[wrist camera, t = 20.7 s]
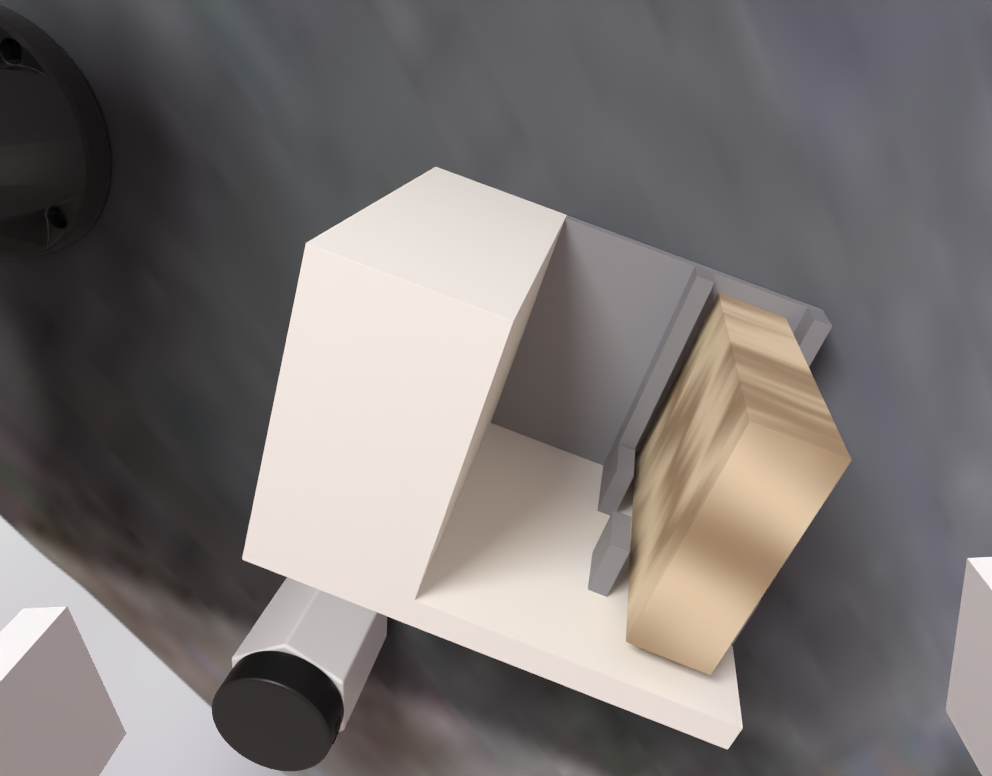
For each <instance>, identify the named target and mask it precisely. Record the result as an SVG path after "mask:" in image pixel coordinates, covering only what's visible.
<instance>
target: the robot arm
mask: <svg viewBox="0 0 992 776" xmlns="http://www.w3.org/2000/svg"><path fill="white" fill-rule="evenodd" d="M110 174H111V159H110V148H109V142H108V137H107V132H106V128H105V125H104V121H103V118H102V115H101V112H100V110H99V107H98V105H97V102H96V100H95V98H94V96H93V94H92V92H91V90H90V88H89V86H88V84H87V82H86V81H85V79H84V78H83V76H82V74H81V73H80V71H79V70H78V68H77V67H76V65H75V64H74V63H73V62H72V60H71V59H70V58H69V56H68V55H67V54H66V53H65V52H64V51H63V49H62V48H61V47H60V46H59V45H58V44H57V43H56V42H55V41H54V40H53V39H52V38H51V37H50V36H48V35H47V34H46V33H45V32H44V31H43V30H41V29H40V28H39V27H38V26H36V25H35V24H33V23H32V22H31V21H29V20H28V19H26V18H24V17H23V16H21V15H19V14H17V13H16V12H14V11H12V10H9V9H7V8H5V7H2V6H0V260H22V259H30V258H34V257H38V256H41V255H44V254H47V253H50V252H53V251H56V250H59V249H61V248H64V247H66V246H69V245H70V244H72V243H74V242H76V241H77V240H79V239H80V238H81V237H82V236H84V235H85V234H86V233H87V232H88V231H89V230H90V229H91V227H92V226H93V225H94V223H95V222H96V220H97V219H98V217H99V215H100V213H101V211H102V209H103V207H104V204H105V201H106V198H107V194H108V190H109V184H110ZM946 712H947V714H948V716H949V717H950V719H951V721H952V723H953V724H954V726H955V728H956V730H957V732H958V733H959V735H960V737H961V739H962V741H963V742H964V744H965V746H966V748H967V749H968V751H969V753H970V755H971V757H972V758H973V760H974V762H975V764H976V765H977V767H978V769H979V771H980V773H981V774H982V776H992V557H981V558H967V563H966V571H965V578H964V585H963V592H962V599H961V606H960V613H959V620H958V627H957V634H956V641H955V648H954V655H953V662H952V669H951V676H950V683H949V690H948V697H947V704H946ZM125 734H126V732H125V730H124V728H123V726H122V724H121V721H120V719H119V717H118V715H117V713H116V711H115V708H114V707H113V704H112V702H111V700H110V698H109V695H108V693H107V691H106V689H105V687H104V685H103V682H102V680H101V678H100V676H99V674H98V672H97V669H96V667H95V665H94V663H93V661H92V659H91V657H90V654H89V652H88V650H87V648H86V646H85V644H84V642H83V639H82V637H81V635H80V633H79V631H78V628H77V626H76V624H75V622H74V620H73V618H72V616H71V614H70V611H69V609H68V607H67V606H64V607H44V608H24V609H22V610H21V611H20V612H19V613H18V614H17V615H16V616H15V617H14V619H12V621H11V622H10V623H9V624H8V625H7V626H6V627H5V628H4V629H3V630H2V631H1V632H0V776H99V775H100V773H101V772H102V770H103V769H104V767H105V765H106V764H107V762H108V761H109V759H110V758H111V756H112V754H113V753H114V751H115V750H116V748H117V747H118V745H119V743H120V742H121V740H122V739H123V737H124V736H125Z"/></svg>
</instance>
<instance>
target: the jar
mask: <svg viewBox="0 0 992 776" xmlns="http://www.w3.org/2000/svg"><path fill="white" fill-rule="evenodd" d="M386 636H387V616H385V615H383V614H380V613H378V612H375V611H372V610H370V609H367V608H365V607H362V606H360V605H357V604H355V603H352V602H349V601H347V600H344V599H342V598H339V597H337V596H334V595H332V594H329V593H326V592H324V591H321V590H319V589H316V588H314V587H311V586H309V585H306V584H303V583H301V582H298V581H296V580H293V579H291V578H288V577H287V578H286V579H285V581H284V582H283V584H282V585H281V587H280V588H279V590H278V591H277V592H276V594H275V595H274V597H273V598H272V600H271V601H270V603H269V604H268V606H267V607H266V609H265V610H264V611H263V613H262V614H261V616H260V617H259V619H258V620H257V622H256V623H255V625H254V626H253V628H252V629H251V630H250V632H249V633H248V635H247V636H246V638H245V639H244V641H243V642H242V644H241V645H240V647H239V648H238V649H237V651H236V652H235V654H234V655H233V657H232V668H233V669H232V670H231V672H230V673H229V675H228V676H227V678H226V679H225V681H224V682H223V684H222V685H221V687H220V688H219V690H218V691H217V693H216V694H215V696H214V699H213V703H212V715H213V720H214V722H215V725H216V727H217V729H218V731H219V733H220V734H221V736H222V737H223V738H224V740H225V741H226V742H227V743H228V744H229V745H230V746H231V747H232V748H233V749H234V750H236V751H237V752H238V753H239V754H241V755H242V756H244V757H245V758H247V759H249V760H251V761H253V762H255V763H257V764H259V765H261V766H264V767H268V768H271V769H275V770H280V771H300V770H305V769H308V768H311V767H313V766H315V765H317V764H318V763H320V762H321V761H322V760H323V759H324V758H325V756H326V755H327V753H328V752H329V749H330V748H331V746H332V744H334V741H335V739H336V737H337V735H338V732H341V731H343V730H344V729H345V727H346V725H347V722H348V720H349V718H350V716H351V714H352V711H353V709H354V707H355V705H356V702H357V700H358V698H359V696H360V694H361V691H362V689H363V687H364V685H365V683H366V680H367V678H368V676H369V674H370V671H371V669H372V667H373V665H374V663H375V660H376V658H377V656H378V654H379V651H380V649H381V647H382V645H383V643H384V640H385V638H386Z"/></svg>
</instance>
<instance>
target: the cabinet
mask: <svg viewBox="0 0 992 776" xmlns="http://www.w3.org/2000/svg"><path fill="white" fill-rule="evenodd" d="M718 292H719V293H722V294H724V295H727V296H730V297H732V298H735V299H738V300H740V301H743V302H746V303H748V304H751V305H754V306H756V307H759V308H762V309H764V310H767V311H769V312H772V313H775V314H777V315H780V316H783V317H785V318H786V319H787V321H788V324H789V326H790V328H791V330H792V332H793V334H794V337H795V339H796V341H797V343H798V345H799V347H800V350H801V352H802V354H803V356H804V358H805V360H806V363H807V365H808V367H809V366H810V364H811V363H812V361H813V359H814V357H815V356H816V354H817V352H818V350H819V349H820V347H821V345H822V343H823V342H824V340H825V338H826V337H827V335H828V333H829V331H830V330H831V328H832V325H831V323H830V322H829V320H828V318H827V317H826V315H825V313H824V312H823V310H822V309H820V308H817V307H814V306H812V305H809V304H806V303H804V302H801V301H798V300H796V299H793V298H790V297H787V296H785V295H782V294H779V293H777V292H774V291H771V290H768V289H766V288H763V287H760V286H758V285H755V284H752V283H749V282H747V281H744V280H741V279H739V278H736V277H733V276H730V275H728V274H725V273H722V272H720V271H717V270H714V269H712V268H709V267H706V266H703V265H701V264H698V263H695V262H693V261H690V260H687V259H684V258H682V257H679V256H676V255H674V254H671V253H668V252H665V251H663V250H660V249H657V248H655V247H652V246H649V245H646V244H644V243H641V242H638V241H636V240H633V239H630V238H628V237H625V236H622V235H619V234H617V233H614V232H611V231H609V230H606V229H603V228H600V227H598V226H595V225H592V224H590V223H587V222H584V221H581V220H579V219H576V218H573V217H571V216H568V215H565V214H562V213H560V212H557V211H554V210H552V209H549V208H546V207H544V206H541V205H538V204H535V203H533V202H530V201H527V200H525V199H522V198H519V197H516V196H514V195H511V194H508V193H506V192H503V191H500V190H497V189H495V188H492V187H489V186H487V185H484V184H481V183H478V182H476V181H473V180H470V179H468V178H465V177H462V176H460V175H457V174H454V173H451V172H449V171H446V170H443V169H441V168H438V167H434V168H433V169H431V170H429V171H428V172H426V173H424V174H423V175H421V176H419V177H417V178H416V179H414V180H412V181H411V182H409V183H407V184H405V185H404V186H402V187H400V188H399V189H397V190H395V191H394V192H392V193H390V194H388V195H387V196H385V197H383V198H382V199H380V200H378V201H377V202H375V203H373V204H371V205H370V206H368V207H366V208H365V209H363V210H361V211H359V212H358V213H356V214H354V215H353V216H351V217H349V218H348V219H346V220H344V221H342V222H341V223H339V224H337V225H336V226H334V227H332V228H331V229H329V230H327V231H325V232H324V233H322V234H320V235H319V236H317V237H315V238H313V239H312V240H310V241H308V242H307V243H306V245H305V250H304V255H303V260H302V265H301V270H300V275H299V280H298V285H297V290H296V295H295V300H294V305H293V310H292V315H291V320H290V324H289V329H288V334H287V339H286V344H285V349H284V354H283V359H282V364H281V369H280V374H279V379H278V384H277V389H276V394H275V399H274V404H273V409H272V413H271V418H270V423H269V428H268V433H267V438H266V443H265V448H264V453H263V458H262V463H261V468H260V473H259V478H258V483H257V488H256V493H255V498H254V502H253V507H252V512H251V517H250V522H249V527H248V532H247V537H246V542H245V547H244V552H243V557H242V560H245V561H247V562H250V563H252V564H255V565H258V566H260V567H263V568H265V569H268V570H270V571H273V572H275V573H278V574H280V575H283V576H286V577H288V578H291V579H293V580H296V581H298V582H301V583H303V584H306V585H309V586H311V587H314V588H316V589H319V590H321V591H324V592H326V593H329V594H332V595H334V596H337V597H339V598H342V599H344V600H347V601H349V602H352V603H355V604H357V605H360V606H362V607H365V608H367V609H370V610H372V611H375V612H378V613H380V614H383V615H385V616H388V617H390V618H393V619H395V620H398V621H400V622H403V623H406V624H408V625H411V626H413V627H416V628H418V629H421V630H423V631H426V632H429V633H431V634H434V635H436V636H439V637H441V638H444V639H446V640H449V641H452V642H454V643H457V644H459V645H462V646H464V647H467V648H469V649H472V650H475V651H477V652H480V653H482V654H485V655H487V656H490V657H492V658H495V659H497V660H500V661H503V662H505V663H508V664H510V665H513V666H515V667H518V668H520V669H523V670H526V671H528V672H531V673H533V674H536V675H538V676H541V677H543V678H546V679H549V680H551V681H554V682H556V683H559V684H561V685H564V686H566V687H569V688H572V689H574V690H577V691H579V692H582V693H584V694H587V695H589V696H592V697H594V698H597V699H600V700H602V701H605V702H607V703H610V704H612V705H615V706H617V707H620V708H623V709H625V710H628V711H630V712H633V713H635V714H638V715H640V716H643V717H646V718H648V719H651V720H653V721H656V722H658V723H661V724H663V725H666V726H669V727H671V728H674V729H676V730H679V731H681V732H684V733H686V734H689V735H691V736H694V737H697V738H699V739H702V740H704V741H707V742H709V743H712V744H714V745H717V746H720V747H722V748H725V749H727V750H728V748H729V747H730V746H731V744H732V743H733V741H734V740H735V738H736V737H737V736H738V734H739V733H740V731H741V730H742V729H743V726H742V718H741V710H740V702H739V694H738V686H737V678H736V670H735V662H734V654H733V644H734V642H735V641H736V639H737V638H738V636H739V635H740V633H741V632H742V630H743V629H744V627H745V625H746V624H747V622H748V621H749V619H750V618H751V616H752V615H753V613H754V612H755V610H756V608H757V607H758V605H759V604H760V601H759V602H758V604H757V605H756V607H755V608H754V610H753V611H752V613H751V614H750V616H749V617H748V619H747V620H746V622H745V624H744V625H743V627H742V628H741V630H740V631H739V633H738V634H737V636H736V637H735V639H734V640H733V642H732V643H731V645H730V646H729V648H728V649H727V651H726V653H725V654H724V656H723V657H722V659H721V660H720V662H719V663H718V665H717V666H716V668H715V669H714V671H713V672H712V674H711V675H708V674H706V673H703V672H701V671H698V670H696V669H693V668H691V667H688V666H686V665H683V664H681V663H678V662H675V661H673V660H670V659H668V658H665V657H663V656H660V655H658V654H655V653H653V652H650V651H648V650H645V649H642V648H640V647H637V646H635V645H632V644H630V643H627V642H626V627H627V608H628V588H629V568H630V548H631V529H632V509H633V489H634V469H635V461H636V458H637V456H638V454H639V452H640V450H641V448H642V446H643V444H644V442H645V440H646V438H647V436H648V434H649V432H650V430H651V428H652V426H653V424H654V422H655V420H656V418H657V416H658V414H659V412H660V410H661V408H662V406H663V404H664V402H665V400H666V398H667V396H668V394H669V392H670V389H671V387H672V385H673V383H674V381H675V379H676V377H677V375H678V373H679V371H680V369H681V367H682V365H683V363H684V361H685V359H686V357H687V355H688V353H689V351H690V349H691V347H692V345H693V343H694V341H695V339H696V337H697V335H698V333H699V331H700V329H701V327H702V325H703V323H704V320H705V318H706V316H707V314H708V312H709V310H710V308H711V306H712V304H713V302H714V300H715V298H716V296H717V294H718Z"/></svg>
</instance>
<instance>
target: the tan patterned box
mask: <svg viewBox="0 0 992 776" xmlns="http://www.w3.org/2000/svg"><path fill="white" fill-rule="evenodd" d="M850 462H851V458H850V456H849V453H848V451H847V449H846V447H845V445H844V443H843V440H842V438H841V436H840V434H839V432H838V430H837V427H836V425H835V423H834V421H833V419H832V417H831V414H830V412H829V410H828V408H827V406H826V404H825V401H824V399H823V397H822V395H821V393H820V391H819V388H818V386H817V384H816V382H815V380H814V378H813V376H812V373H811V371H810V369H809V367H808V365H807V363H806V360H805V358H804V356H803V354H802V352H801V350H800V347H799V345H798V343H797V341H796V339H795V337H794V334H793V332H792V330H791V328H790V326H789V324H788V321H787V319H786V318H785V317H783V316H780V315H777V314H775V313H772V312H769V311H767V310H764V309H762V308H759V307H756V306H754V305H751V304H748V303H746V302H743V301H740V300H738V299H735V298H732V297H730V296H727V295H724V294H722V293H719V292H718V294H717V296H716V298H715V300H714V302H713V304H712V306H711V308H710V310H709V312H708V314H707V316H706V318H705V320H704V323H703V325H702V327H701V329H700V331H699V333H698V335H697V337H696V339H695V341H694V343H693V345H692V347H691V349H690V351H689V353H688V355H687V357H686V359H685V361H684V363H683V365H682V367H681V369H680V371H679V373H678V375H677V377H676V379H675V381H674V383H673V385H672V387H671V389H670V392H669V394H668V396H667V398H666V400H665V402H664V404H663V406H662V408H661V410H660V412H659V414H658V416H657V418H656V420H655V422H654V424H653V426H652V428H651V430H650V432H649V434H648V436H647V438H646V440H645V442H644V444H643V446H642V448H641V450H640V452H639V454H638V456H637V458H636V461H635V469H634V489H633V509H632V529H631V548H630V568H629V588H628V608H627V627H626V642H627V643H630V644H632V645H635V646H637V647H640V648H642V649H645V650H648V651H650V652H653V653H655V654H658V655H660V656H663V657H665V658H668V659H670V660H673V661H675V662H678V663H681V664H683V665H686V666H688V667H691V668H693V669H696V670H698V671H701V672H703V673H706V674H708V675H711V674H712V672H713V671H714V669H715V668H716V666H717V665H718V663H719V662H720V660H721V659H722V657H723V656H724V654H725V653H726V651H727V649H728V648H729V646H730V645H731V643H732V642H733V640H734V639H735V637H736V636H737V634H738V633H739V631H740V630H741V628H742V627H743V625H744V624H745V622H746V620H747V619H748V617H749V616H750V614H751V613H752V611H753V610H754V608H755V607H756V605H757V604H758V602H759V601H760V599H761V598H762V596H763V595H764V593H765V592H766V590H767V588H768V587H769V585H770V584H771V582H772V581H773V579H774V578H775V576H776V575H777V573H778V572H779V570H780V569H781V567H782V566H783V564H784V563H785V561H786V560H787V558H788V556H789V555H790V553H791V552H792V550H793V549H794V547H795V546H796V544H797V543H798V541H799V540H800V538H801V537H802V535H803V534H804V532H805V531H806V529H807V528H808V526H809V524H810V523H811V521H812V520H813V518H814V517H815V515H816V514H817V512H818V511H819V509H820V508H821V506H822V505H823V503H824V502H825V500H826V499H827V497H828V495H829V494H830V492H831V491H832V489H833V488H834V486H835V485H836V483H837V482H838V480H839V479H840V477H841V476H842V474H843V473H844V471H845V470H846V468H847V467H848V465H849V463H850Z"/></svg>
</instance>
